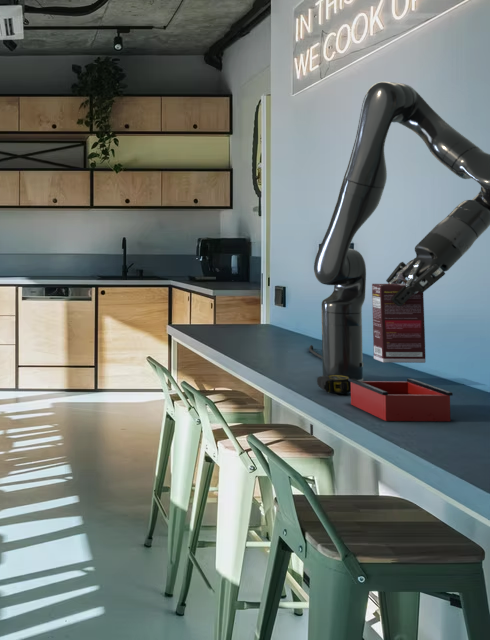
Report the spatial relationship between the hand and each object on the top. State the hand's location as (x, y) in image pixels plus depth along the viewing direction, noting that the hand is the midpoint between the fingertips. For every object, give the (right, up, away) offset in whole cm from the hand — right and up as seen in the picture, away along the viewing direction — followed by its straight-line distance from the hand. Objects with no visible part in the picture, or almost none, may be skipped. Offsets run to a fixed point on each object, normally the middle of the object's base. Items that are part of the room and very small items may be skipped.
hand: (388, 301), depth 150 cm
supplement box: (+2, -12, 0) cm, 13 cm away
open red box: (+1, -23, -1) cm, 23 cm away
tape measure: (-3, -23, +18) cm, 30 cm away
